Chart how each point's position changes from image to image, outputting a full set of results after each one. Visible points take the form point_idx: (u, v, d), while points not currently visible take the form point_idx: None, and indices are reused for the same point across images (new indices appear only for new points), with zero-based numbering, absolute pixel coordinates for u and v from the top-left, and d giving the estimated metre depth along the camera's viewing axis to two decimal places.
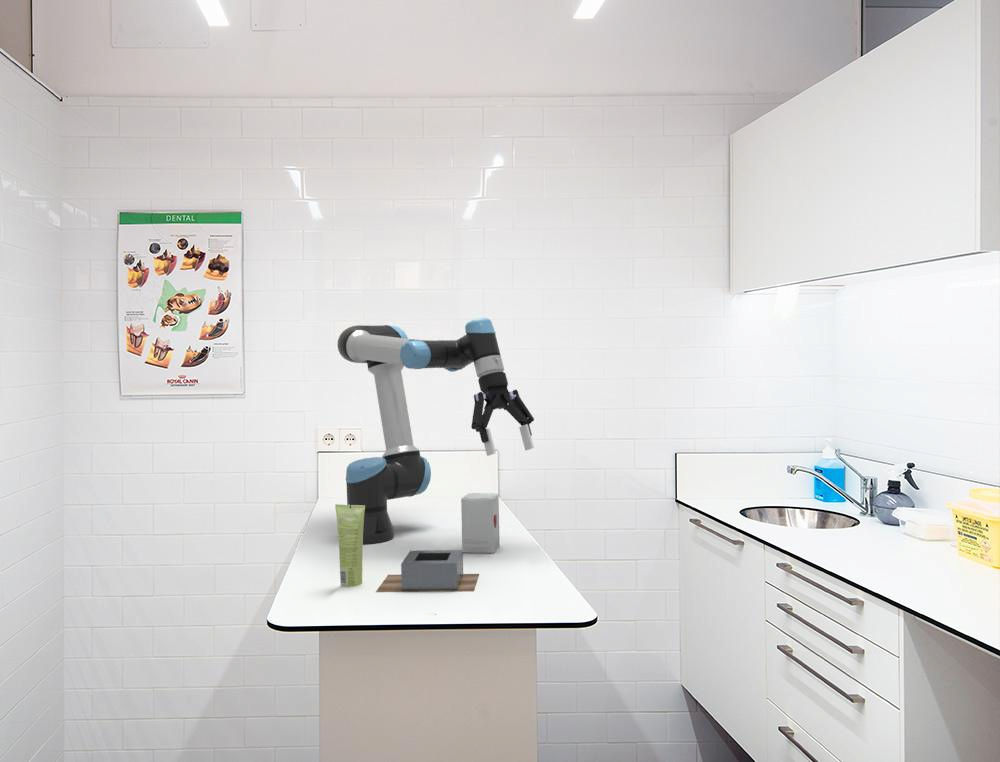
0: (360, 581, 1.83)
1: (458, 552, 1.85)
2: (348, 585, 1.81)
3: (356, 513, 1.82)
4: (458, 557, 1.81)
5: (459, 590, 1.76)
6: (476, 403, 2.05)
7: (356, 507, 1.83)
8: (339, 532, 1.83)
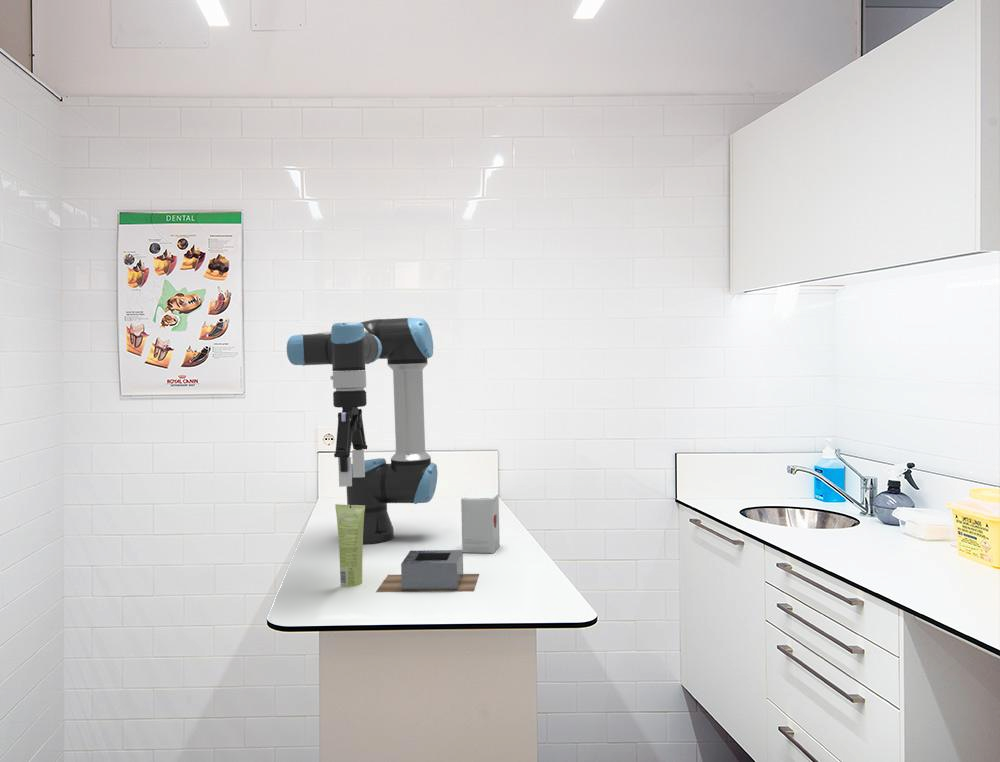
0: (360, 581, 1.83)
1: (458, 552, 1.85)
2: (348, 585, 1.81)
3: (356, 513, 1.82)
4: (458, 557, 1.81)
5: (459, 590, 1.76)
6: None
7: (356, 507, 1.83)
8: (339, 532, 1.83)
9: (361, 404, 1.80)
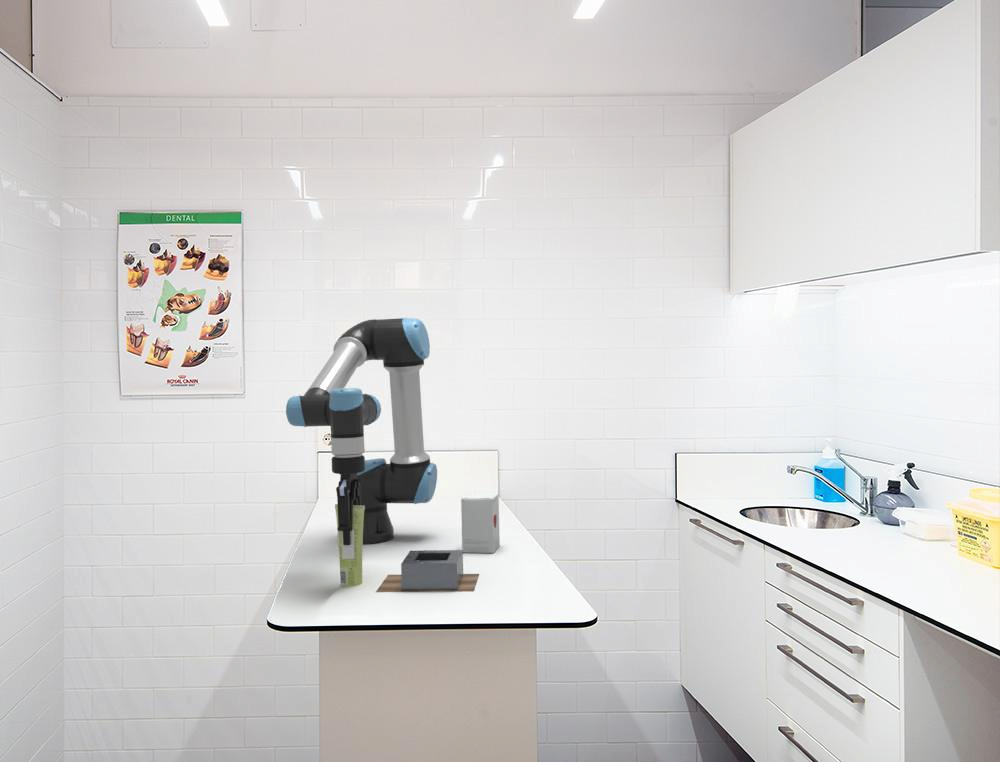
0: (360, 581, 1.83)
1: (458, 552, 1.85)
2: (348, 585, 1.81)
3: (356, 513, 1.82)
4: (458, 557, 1.81)
5: (459, 590, 1.76)
6: None
7: (355, 507, 1.83)
8: (339, 532, 1.83)
9: (359, 470, 1.81)
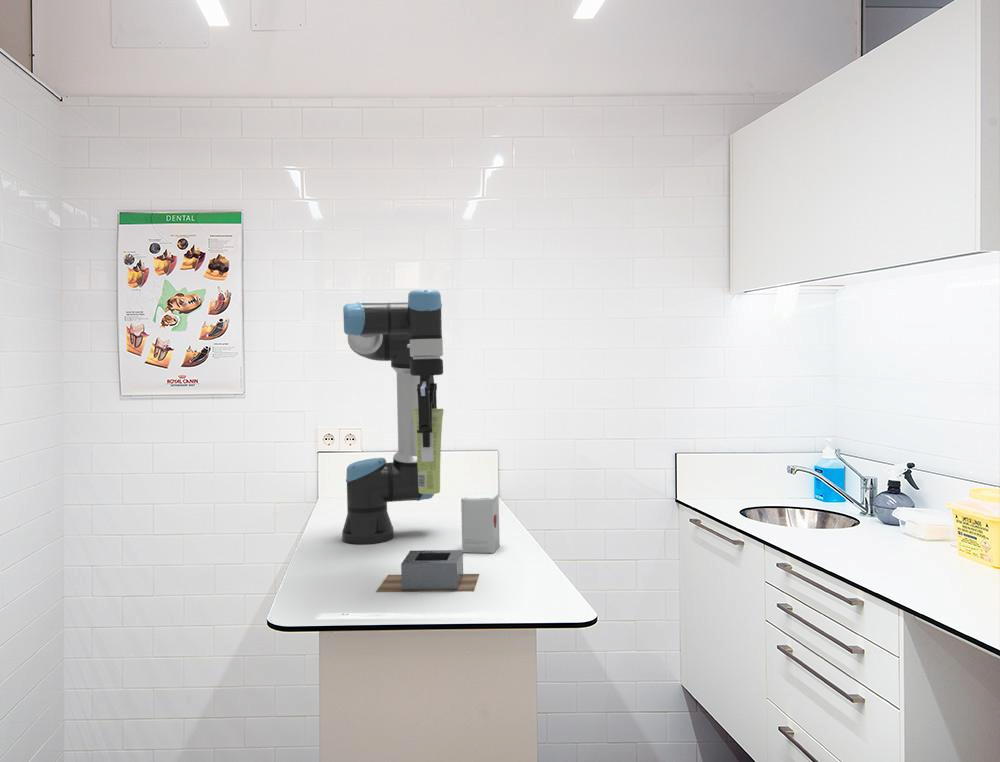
0: (438, 485, 1.81)
1: (458, 552, 1.85)
2: (427, 488, 1.79)
3: (434, 416, 1.80)
4: (458, 557, 1.81)
5: (459, 590, 1.76)
6: None
7: (434, 410, 1.81)
8: (417, 436, 1.81)
9: (438, 372, 1.79)
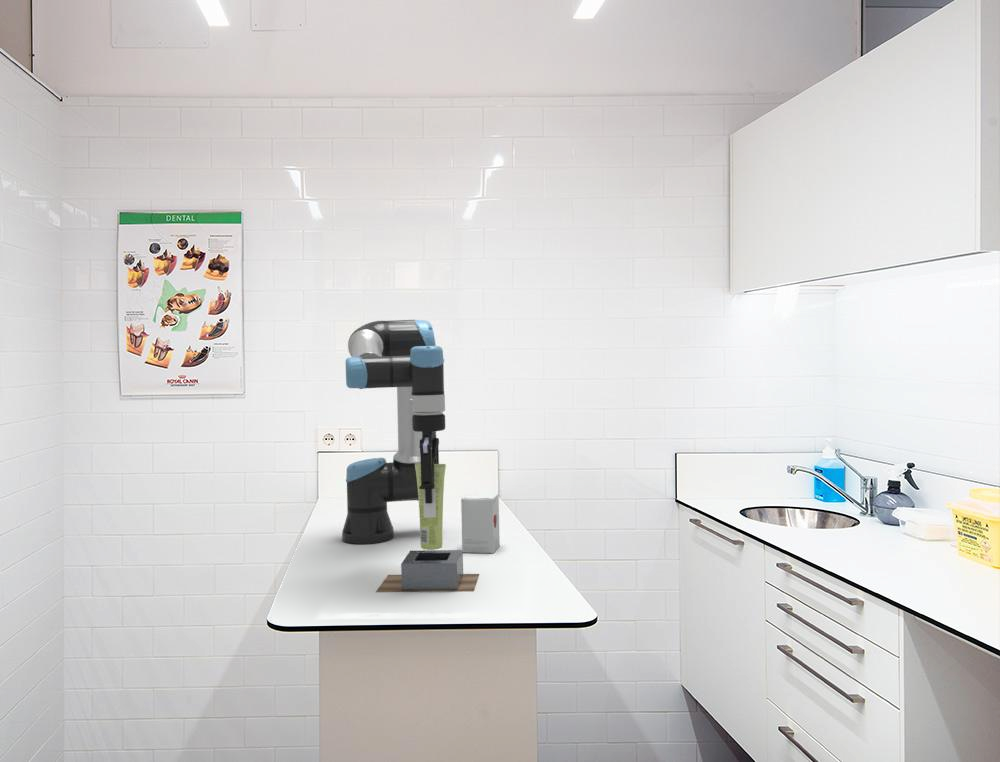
0: (441, 540, 1.81)
1: (458, 552, 1.85)
2: (429, 544, 1.80)
3: (437, 472, 1.80)
4: (458, 557, 1.81)
5: (459, 590, 1.76)
6: None
7: (436, 466, 1.81)
8: (419, 491, 1.81)
9: (441, 428, 1.79)
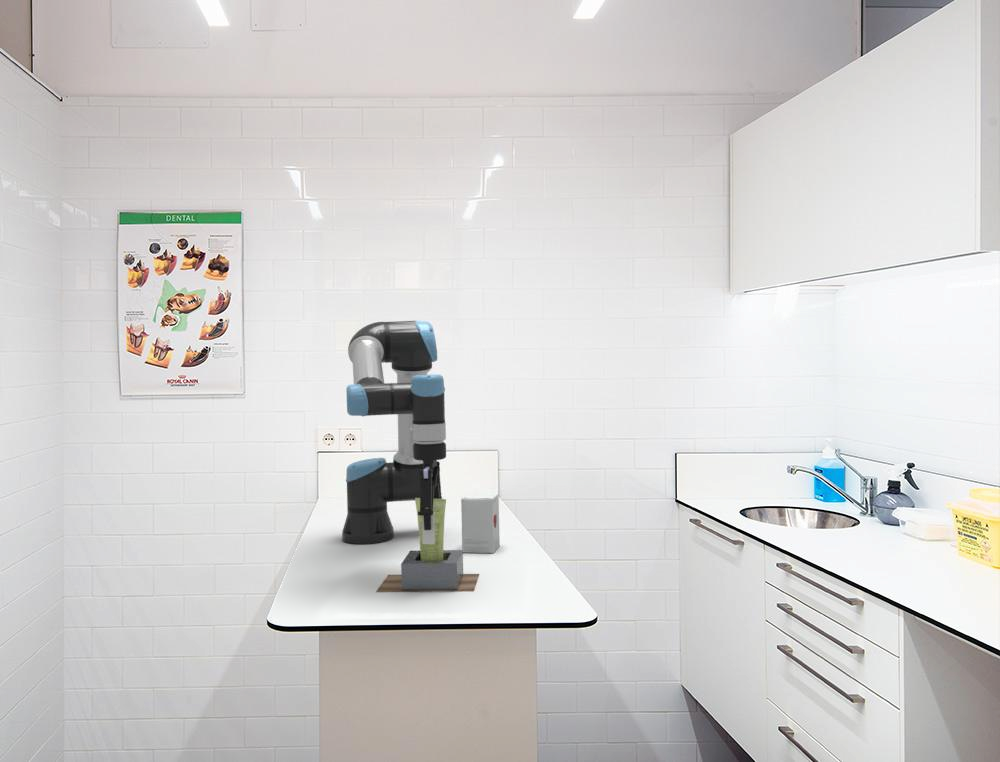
0: None
1: (458, 552, 1.85)
2: None
3: (437, 507, 1.81)
4: (458, 557, 1.81)
5: (459, 590, 1.76)
6: None
7: (436, 500, 1.81)
8: (420, 526, 1.81)
9: (442, 457, 1.79)
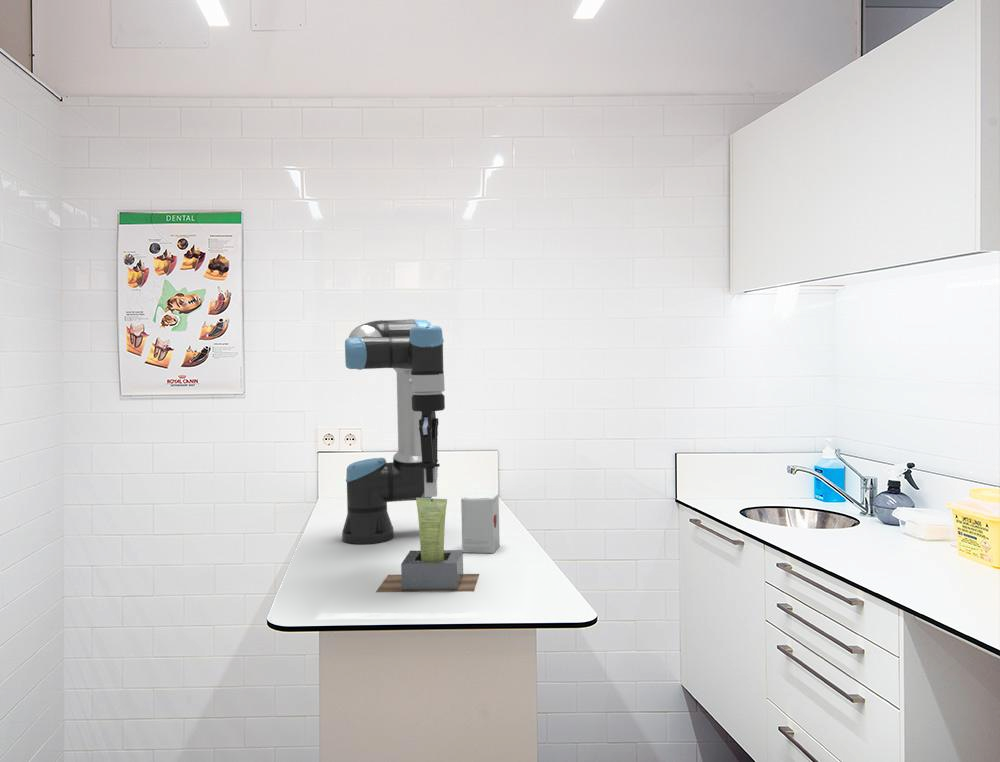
0: None
1: (458, 552, 1.85)
2: None
3: (438, 506, 1.81)
4: (458, 557, 1.81)
5: (459, 590, 1.76)
6: None
7: (437, 500, 1.82)
8: (421, 526, 1.81)
9: (440, 408, 1.79)
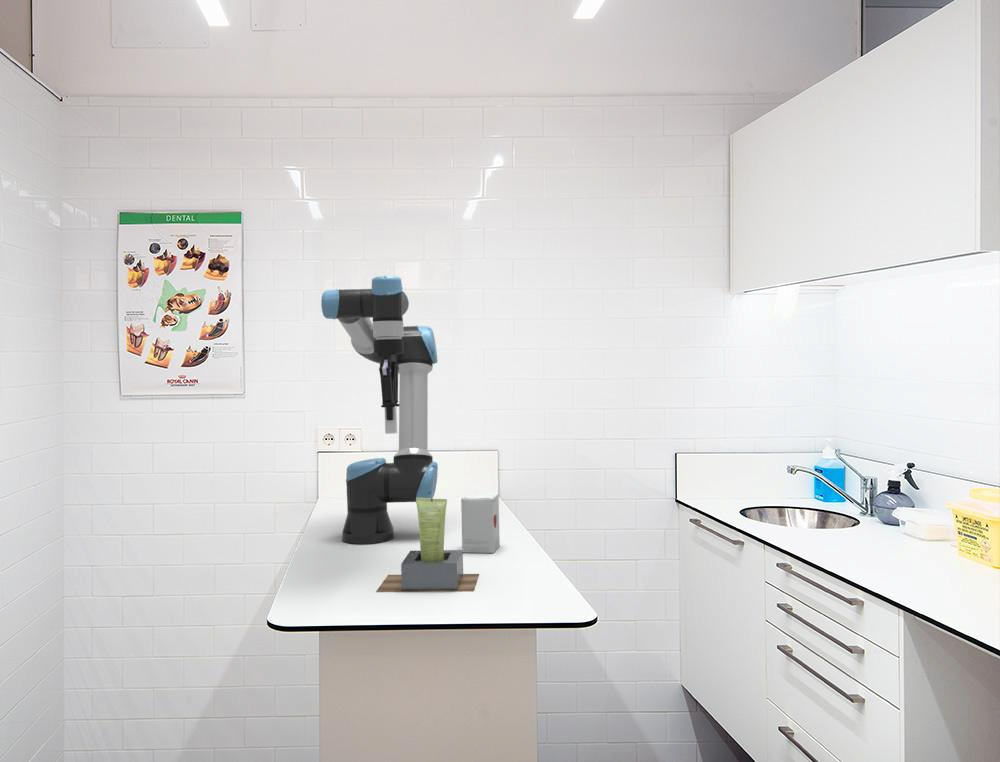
0: None
1: (458, 552, 1.85)
2: None
3: (438, 506, 1.81)
4: (458, 557, 1.81)
5: (459, 590, 1.76)
6: None
7: (437, 500, 1.82)
8: (420, 526, 1.81)
9: (399, 351, 1.95)
